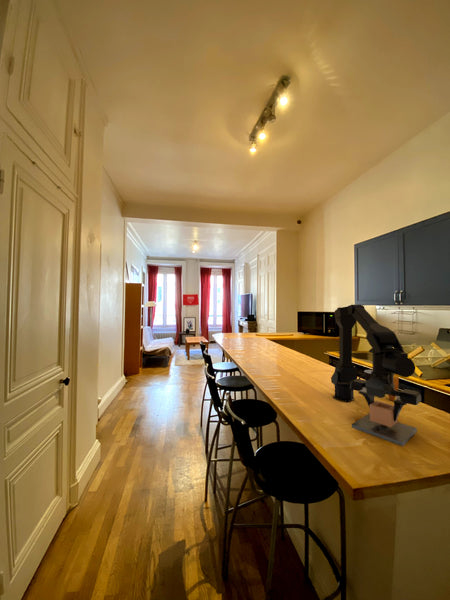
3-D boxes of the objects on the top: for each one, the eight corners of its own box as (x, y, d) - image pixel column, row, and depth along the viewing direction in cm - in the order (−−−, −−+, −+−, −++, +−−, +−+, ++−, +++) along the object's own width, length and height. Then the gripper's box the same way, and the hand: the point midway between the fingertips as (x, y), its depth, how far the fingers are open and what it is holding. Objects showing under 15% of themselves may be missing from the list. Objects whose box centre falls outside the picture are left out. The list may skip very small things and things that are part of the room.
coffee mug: (383, 392, 115) (383, 370, 115) (389, 398, 107) (388, 375, 107) (355, 389, 118) (355, 368, 119) (359, 395, 110) (359, 373, 111)
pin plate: (351, 427, 80) (351, 410, 80) (369, 416, 89) (368, 400, 89) (402, 446, 69) (402, 426, 69) (416, 431, 78) (416, 413, 78)
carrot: (382, 398, 106) (381, 364, 106) (392, 398, 106) (392, 364, 107) (390, 403, 101) (390, 366, 102) (402, 403, 101) (401, 366, 102)
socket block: (369, 420, 79) (369, 404, 79) (376, 415, 83) (376, 400, 83) (391, 427, 75) (390, 410, 75) (397, 421, 78) (397, 406, 79)
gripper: (342, 367, 82) (343, 414, 81) (410, 379, 67) (411, 437, 67) (356, 362, 89) (357, 406, 88) (421, 373, 74) (422, 425, 74)
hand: (383, 417), depth 79 cm, fingers closed on socket block, 6 cm apart
